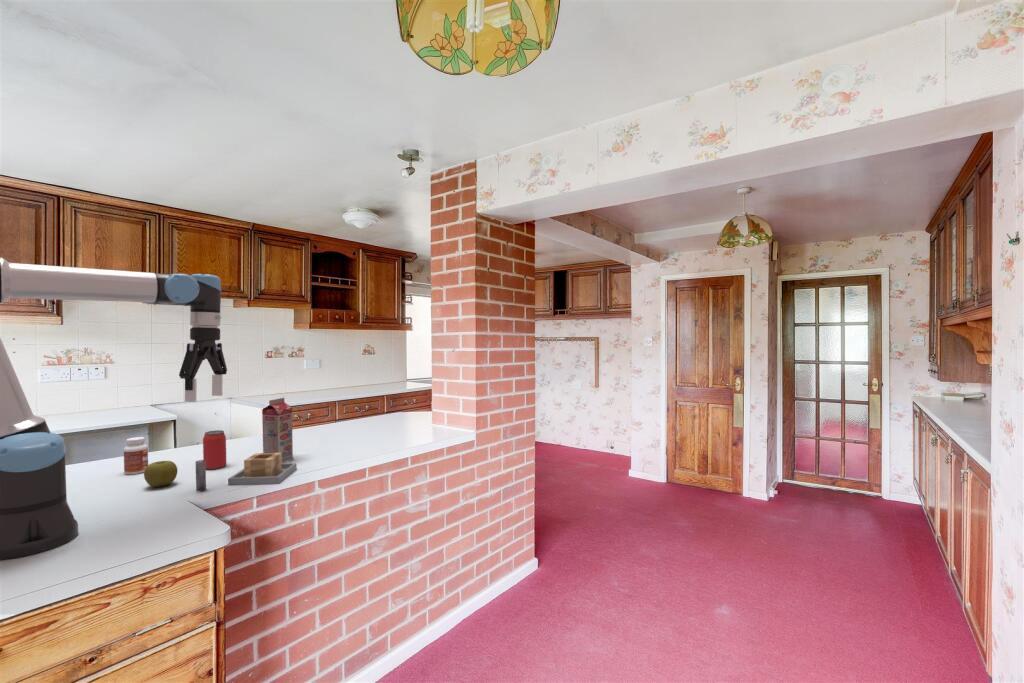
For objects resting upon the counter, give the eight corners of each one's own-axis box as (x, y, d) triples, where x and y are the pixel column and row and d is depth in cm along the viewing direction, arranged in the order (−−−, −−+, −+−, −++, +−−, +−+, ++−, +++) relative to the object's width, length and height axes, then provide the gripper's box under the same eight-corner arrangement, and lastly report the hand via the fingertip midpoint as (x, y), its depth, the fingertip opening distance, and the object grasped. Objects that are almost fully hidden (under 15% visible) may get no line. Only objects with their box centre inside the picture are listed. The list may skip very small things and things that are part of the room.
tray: (278, 483, 142) (278, 477, 142) (228, 485, 141) (228, 478, 141) (296, 469, 157) (296, 463, 156) (250, 470, 155) (250, 464, 155)
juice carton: (263, 462, 164) (262, 400, 163) (277, 457, 170) (276, 397, 170) (278, 464, 162) (277, 400, 161) (292, 459, 168) (291, 398, 168)
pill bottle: (147, 472, 153) (146, 439, 152) (122, 476, 149) (122, 441, 149) (149, 468, 158) (148, 435, 158) (125, 471, 155) (124, 437, 154)
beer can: (199, 468, 157) (198, 433, 157) (219, 463, 163) (218, 429, 163) (210, 471, 154) (209, 435, 154) (230, 466, 160) (229, 431, 160)
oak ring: (271, 478, 145) (271, 459, 145) (244, 479, 144) (244, 460, 144) (281, 470, 153) (281, 452, 153) (256, 471, 152) (255, 453, 152)
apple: (143, 485, 141) (143, 462, 140) (176, 479, 146) (176, 457, 146) (145, 492, 135) (144, 467, 135) (179, 486, 140) (178, 462, 140)
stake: (203, 491, 135) (202, 462, 135) (194, 491, 135) (193, 462, 135) (207, 488, 138) (207, 459, 138) (199, 488, 138) (198, 460, 137)
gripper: (193, 326, 127) (192, 404, 127) (239, 328, 152) (238, 393, 152) (164, 325, 126) (163, 404, 127) (215, 327, 151) (214, 393, 151)
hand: (204, 398), depth 139 cm, fingers open, 13 cm apart
